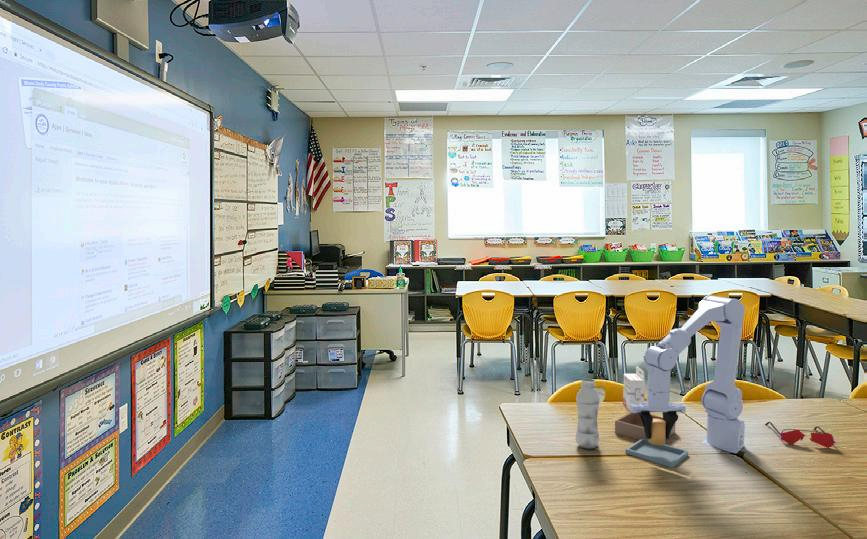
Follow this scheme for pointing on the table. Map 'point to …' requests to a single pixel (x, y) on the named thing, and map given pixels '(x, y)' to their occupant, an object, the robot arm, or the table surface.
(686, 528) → the table surface
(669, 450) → the tray
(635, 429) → the brown storage bin
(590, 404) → the plastic bottle
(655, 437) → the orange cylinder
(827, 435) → the glasses
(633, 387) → the ink cartridge box
